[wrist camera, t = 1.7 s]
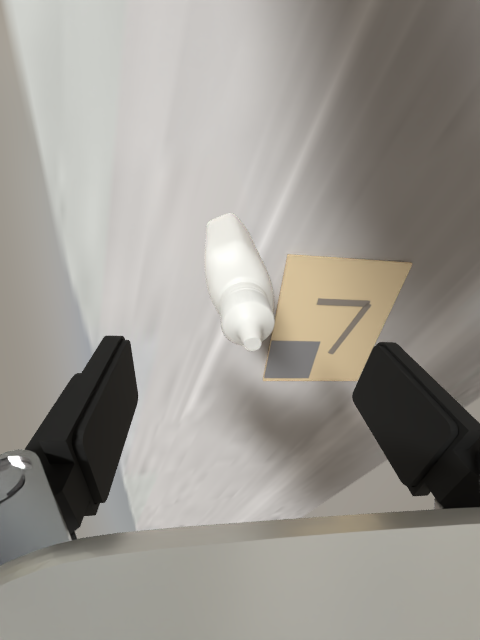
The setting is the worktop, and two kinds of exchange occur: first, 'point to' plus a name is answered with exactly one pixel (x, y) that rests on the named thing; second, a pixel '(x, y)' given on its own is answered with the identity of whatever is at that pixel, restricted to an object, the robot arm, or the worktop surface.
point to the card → (330, 316)
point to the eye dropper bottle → (238, 282)
